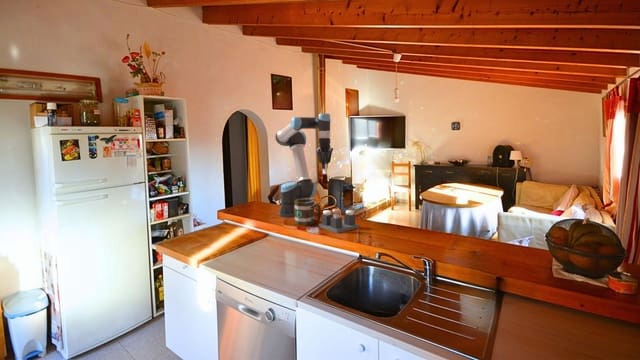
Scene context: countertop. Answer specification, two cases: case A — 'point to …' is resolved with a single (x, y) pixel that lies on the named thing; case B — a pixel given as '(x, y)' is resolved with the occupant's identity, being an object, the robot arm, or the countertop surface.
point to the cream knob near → (327, 212)
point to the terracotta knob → (336, 212)
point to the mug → (305, 212)
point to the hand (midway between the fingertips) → (324, 173)
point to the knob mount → (338, 223)
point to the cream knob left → (349, 212)
